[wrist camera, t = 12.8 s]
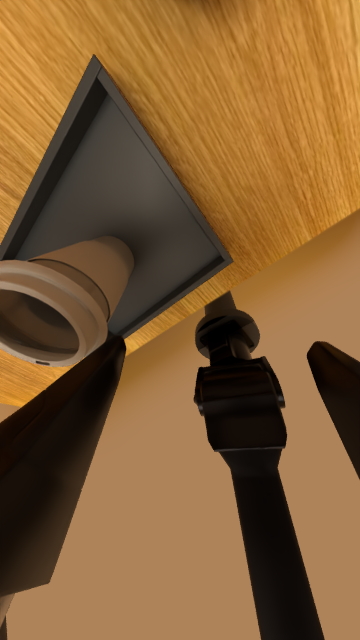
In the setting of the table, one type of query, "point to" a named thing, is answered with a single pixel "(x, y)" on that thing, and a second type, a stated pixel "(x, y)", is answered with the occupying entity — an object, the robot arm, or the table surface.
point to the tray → (116, 204)
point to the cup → (62, 300)
